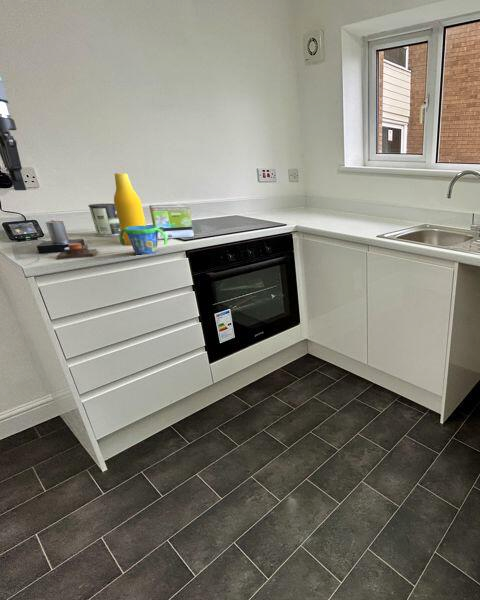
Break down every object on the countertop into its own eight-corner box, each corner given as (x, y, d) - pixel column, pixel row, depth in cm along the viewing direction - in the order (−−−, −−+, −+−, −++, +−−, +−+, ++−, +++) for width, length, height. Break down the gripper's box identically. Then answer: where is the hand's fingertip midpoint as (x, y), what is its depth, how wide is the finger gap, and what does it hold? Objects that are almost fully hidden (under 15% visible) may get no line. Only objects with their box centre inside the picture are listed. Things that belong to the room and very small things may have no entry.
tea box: (158, 240, 161) (150, 207, 156) (155, 236, 168) (148, 204, 163) (194, 237, 170) (189, 205, 165) (190, 233, 177) (185, 203, 172)
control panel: (38, 253, 133) (35, 245, 132) (47, 248, 141) (44, 240, 140) (79, 251, 139) (77, 243, 137) (85, 245, 147) (83, 238, 145)
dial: (71, 241, 140) (65, 220, 137) (55, 244, 135) (48, 222, 132) (66, 240, 142) (59, 219, 139) (50, 242, 138) (42, 221, 135)
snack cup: (174, 250, 145) (169, 225, 141) (161, 256, 135) (155, 229, 132) (133, 250, 143) (126, 224, 139) (117, 256, 133) (110, 229, 129)
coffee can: (122, 231, 176) (115, 203, 171) (125, 235, 169) (117, 205, 164) (96, 233, 169) (87, 203, 164) (97, 237, 162) (88, 206, 157)
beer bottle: (119, 244, 150) (100, 173, 140) (134, 240, 159) (118, 172, 148) (140, 245, 150) (123, 174, 140) (155, 241, 159) (139, 173, 148)
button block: (57, 259, 127) (54, 251, 126) (63, 254, 133) (61, 246, 132) (92, 256, 132) (90, 248, 131) (97, 251, 138) (94, 244, 137)
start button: (68, 250, 129) (67, 245, 129) (71, 248, 132) (69, 243, 132) (81, 249, 131) (79, 244, 130) (83, 247, 134) (82, 242, 133)
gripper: (-26, 115, 116) (-1, 189, 125) (-14, 114, 110) (11, 191, 119) (6, 118, 123) (28, 188, 131) (19, 117, 117) (41, 191, 125)
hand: (20, 190), depth 125 cm, fingers closed
